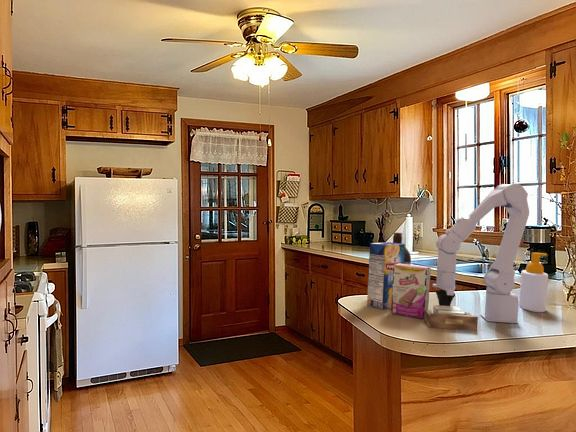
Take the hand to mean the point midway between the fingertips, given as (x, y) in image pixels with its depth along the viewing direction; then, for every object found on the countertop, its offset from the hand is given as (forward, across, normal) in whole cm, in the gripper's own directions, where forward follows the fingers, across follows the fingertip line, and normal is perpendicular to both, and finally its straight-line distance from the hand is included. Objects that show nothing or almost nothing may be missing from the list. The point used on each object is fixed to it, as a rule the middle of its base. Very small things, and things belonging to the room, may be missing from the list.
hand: (444, 313), depth 154 cm
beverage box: (+2, -12, -18) cm, 22 cm away
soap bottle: (+2, -22, +36) cm, 43 cm away
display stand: (+1, +9, 0) cm, 9 cm away
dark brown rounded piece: (+2, -26, -13) cm, 29 cm away
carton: (+2, +7, 0) cm, 7 cm away
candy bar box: (+2, 0, -11) cm, 11 cm away
